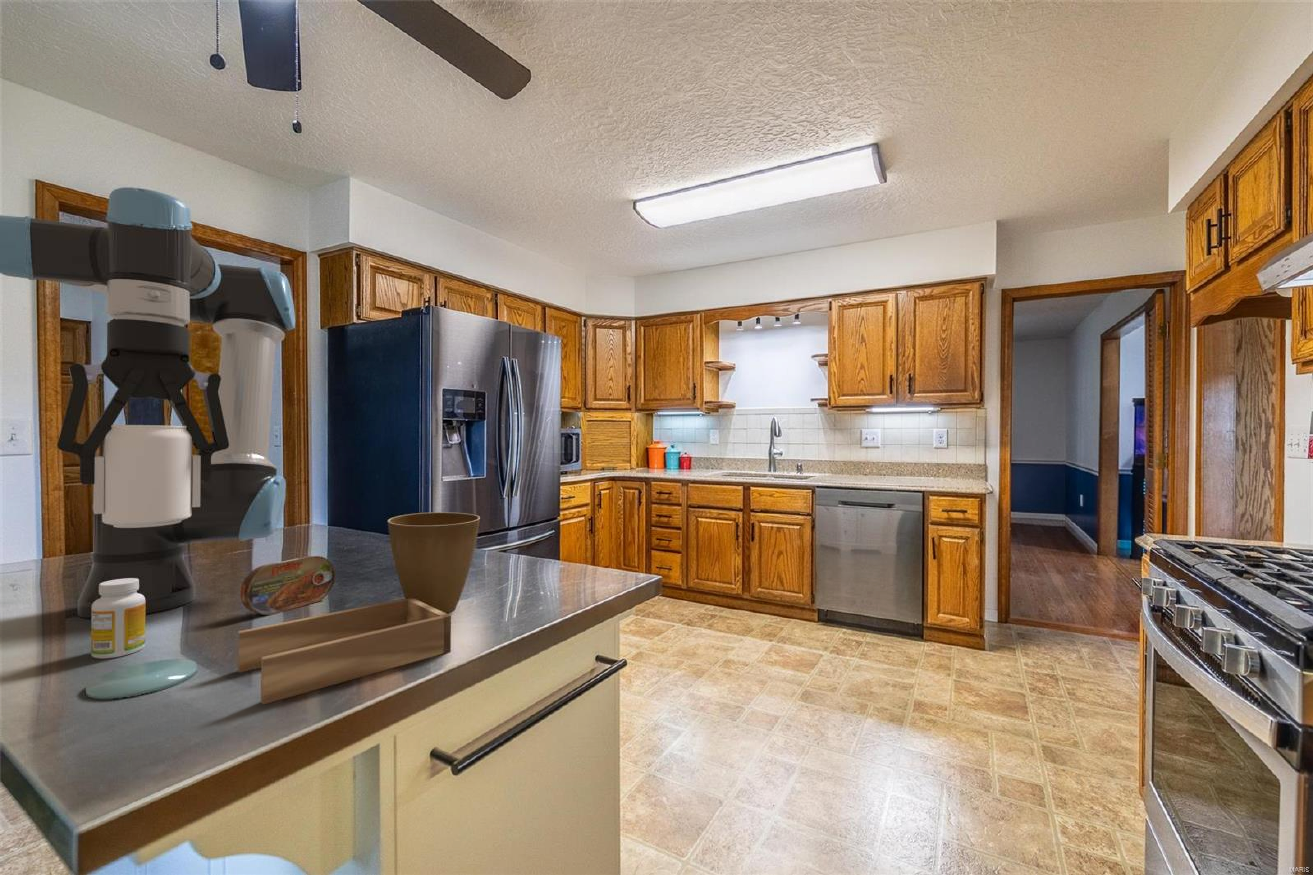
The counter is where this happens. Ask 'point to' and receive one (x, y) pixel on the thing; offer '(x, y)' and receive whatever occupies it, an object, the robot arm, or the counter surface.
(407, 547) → the plant pot
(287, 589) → the tin
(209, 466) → the robot arm
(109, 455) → the beverage can
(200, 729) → the counter surface
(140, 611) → the supplement bottle
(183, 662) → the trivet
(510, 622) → the counter surface
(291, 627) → the brown wooden rectangular tray
